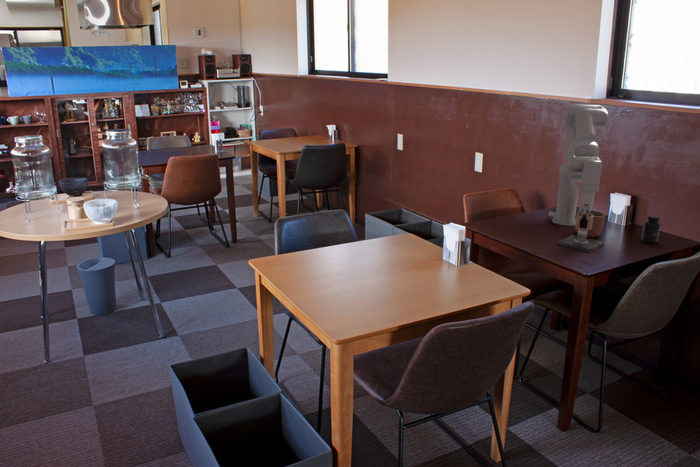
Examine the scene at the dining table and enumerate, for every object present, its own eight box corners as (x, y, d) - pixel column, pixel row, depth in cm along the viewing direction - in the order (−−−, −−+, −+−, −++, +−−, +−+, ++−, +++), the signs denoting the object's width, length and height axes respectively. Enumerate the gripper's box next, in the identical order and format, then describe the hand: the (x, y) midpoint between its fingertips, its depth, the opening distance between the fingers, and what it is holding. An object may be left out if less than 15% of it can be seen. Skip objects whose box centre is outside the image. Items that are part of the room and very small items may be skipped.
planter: (607, 237, 261) (610, 215, 258) (587, 240, 257) (590, 217, 253) (587, 230, 272) (591, 208, 269) (568, 232, 268) (571, 211, 264)
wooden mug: (574, 228, 246) (576, 215, 244) (576, 224, 252) (577, 212, 250) (593, 231, 242) (595, 218, 240) (594, 227, 248) (596, 214, 246)
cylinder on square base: (557, 244, 250) (560, 224, 247) (571, 237, 260) (574, 218, 257) (590, 252, 240) (593, 232, 237) (603, 245, 250) (607, 225, 247)
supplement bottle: (655, 244, 252) (660, 219, 248) (639, 241, 256) (644, 216, 252) (658, 240, 257) (663, 216, 253) (642, 237, 261) (646, 213, 257)
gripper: (582, 183, 250) (576, 220, 256) (578, 190, 236) (572, 229, 241) (599, 184, 247) (594, 222, 253) (597, 192, 232) (591, 232, 238)
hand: (583, 225), depth 247 cm, fingers closed on wooden mug, 7 cm apart
